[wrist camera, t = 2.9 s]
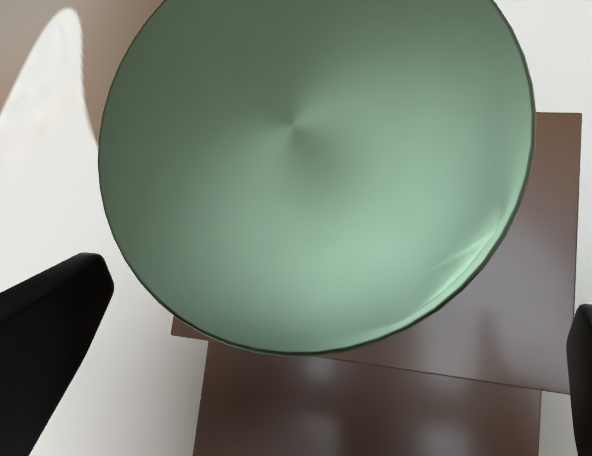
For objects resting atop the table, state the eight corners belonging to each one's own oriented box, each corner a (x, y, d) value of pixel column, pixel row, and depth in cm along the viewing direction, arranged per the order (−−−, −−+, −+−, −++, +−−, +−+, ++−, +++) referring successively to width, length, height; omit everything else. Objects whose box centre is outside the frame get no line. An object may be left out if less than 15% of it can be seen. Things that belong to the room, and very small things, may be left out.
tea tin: (436, 358, 14) (467, 431, 6) (246, 297, 16) (41, 281, 7) (489, 158, 15) (589, -56, 6) (299, 120, 16) (169, -91, 8)
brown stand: (518, 611, 17) (558, 729, 12) (199, 529, 20) (130, 598, 15) (541, 162, 19) (582, 112, 14) (250, 150, 22) (205, 105, 17)
